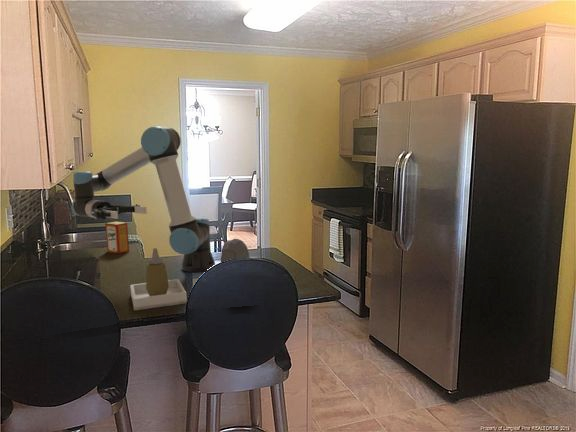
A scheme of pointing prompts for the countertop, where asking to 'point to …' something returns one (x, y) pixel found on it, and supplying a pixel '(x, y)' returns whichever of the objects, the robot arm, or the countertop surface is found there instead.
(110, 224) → the baking soda box
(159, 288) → the squeeze bottle
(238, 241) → the small grey backpack
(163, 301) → the box
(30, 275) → the countertop surface
